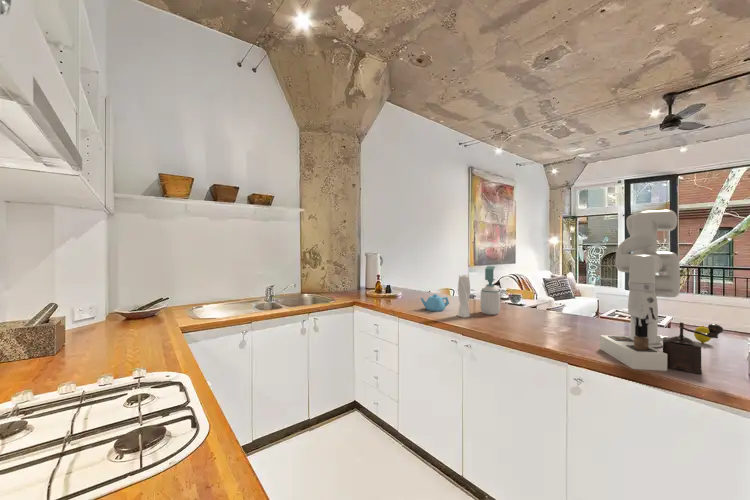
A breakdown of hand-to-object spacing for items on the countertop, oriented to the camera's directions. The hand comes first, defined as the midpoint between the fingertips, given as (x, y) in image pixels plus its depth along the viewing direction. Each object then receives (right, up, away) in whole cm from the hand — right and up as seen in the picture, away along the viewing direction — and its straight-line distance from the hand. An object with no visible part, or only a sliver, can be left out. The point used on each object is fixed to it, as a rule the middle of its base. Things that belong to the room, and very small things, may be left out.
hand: (641, 336), depth 121 cm
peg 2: (0, -7, 0) cm, 7 cm away
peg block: (+1, -11, +7) cm, 13 cm away
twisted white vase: (-44, -10, +82) cm, 94 cm away
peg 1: (+2, -11, +13) cm, 17 cm away
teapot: (-58, -10, +105) cm, 120 cm away
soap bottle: (-24, -10, +92) cm, 96 cm away
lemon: (+50, -11, +27) cm, 58 cm away
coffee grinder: (+15, -11, -4) cm, 19 cm away
